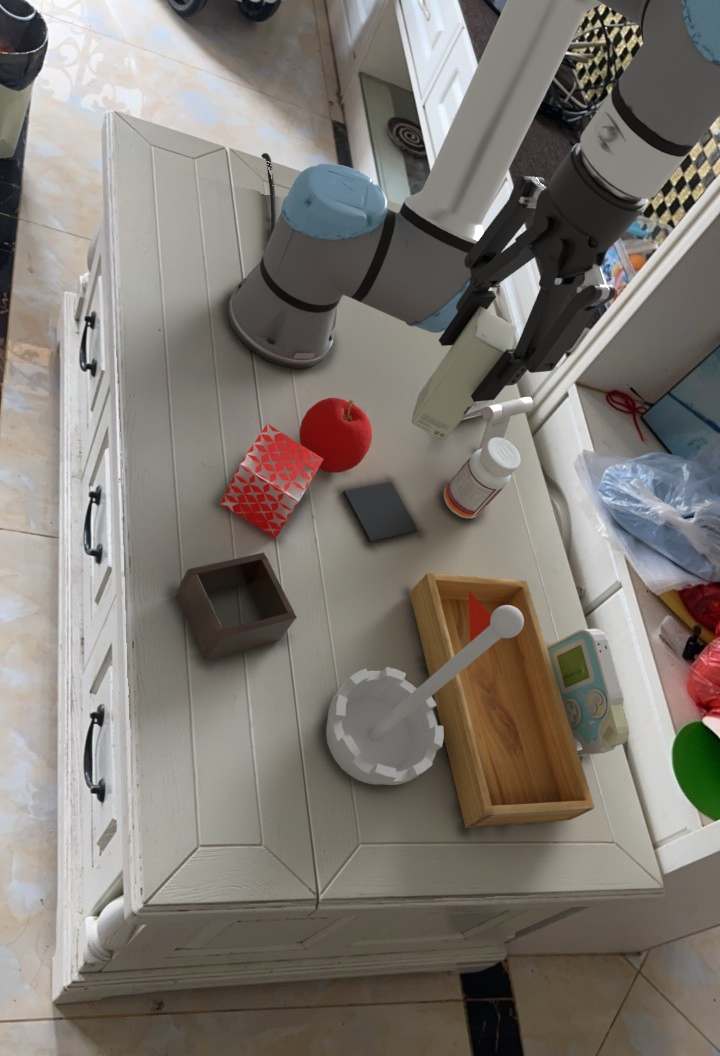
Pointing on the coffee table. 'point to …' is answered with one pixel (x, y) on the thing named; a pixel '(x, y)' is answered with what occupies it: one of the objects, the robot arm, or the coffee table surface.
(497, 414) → the tablet stand
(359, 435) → the fruit
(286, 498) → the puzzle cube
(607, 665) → the handheld gaming console
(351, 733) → the flag stand
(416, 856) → the coffee table surface
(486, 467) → the pill bottle
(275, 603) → the box
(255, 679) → the coffee table surface
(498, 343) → the box
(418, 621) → the tray
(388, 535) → the mat
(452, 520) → the coffee table surface
